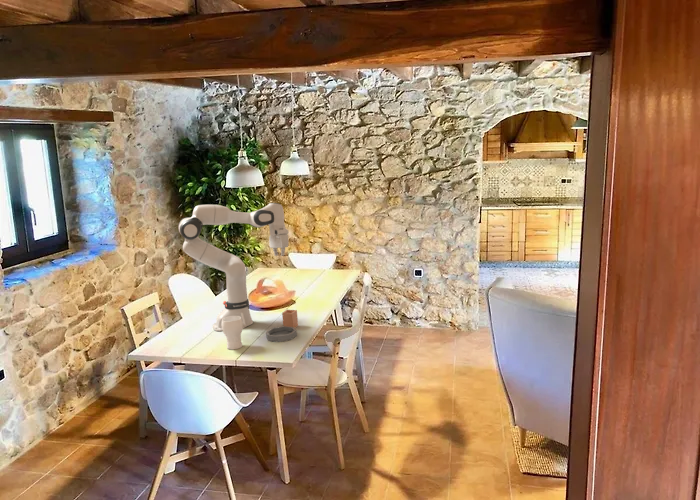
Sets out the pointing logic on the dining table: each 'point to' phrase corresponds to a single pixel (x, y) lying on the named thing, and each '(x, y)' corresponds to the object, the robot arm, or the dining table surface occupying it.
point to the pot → (290, 318)
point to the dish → (281, 334)
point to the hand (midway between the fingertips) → (279, 255)
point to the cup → (232, 331)
